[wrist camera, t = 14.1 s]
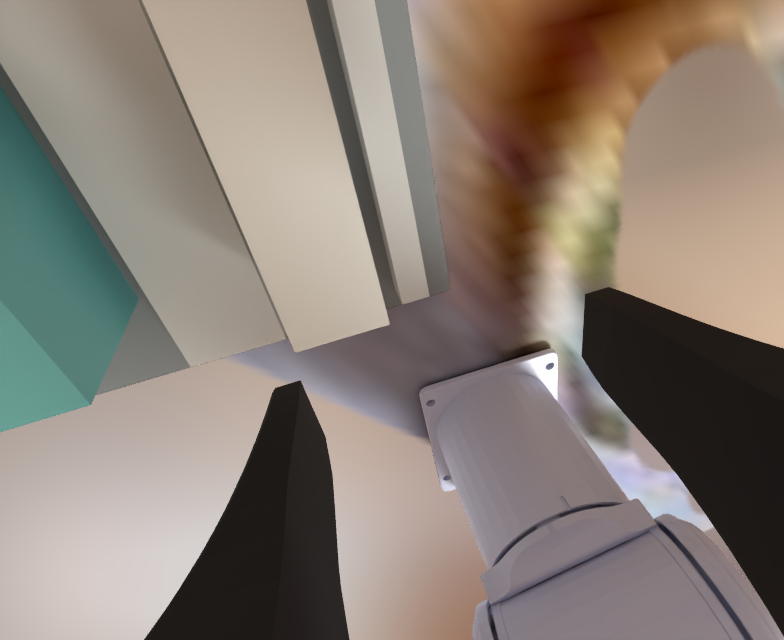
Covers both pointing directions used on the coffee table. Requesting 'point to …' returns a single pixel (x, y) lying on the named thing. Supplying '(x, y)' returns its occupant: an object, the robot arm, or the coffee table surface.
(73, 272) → the teal rectangular block
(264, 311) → the ribbed slotted plate
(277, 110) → the beige rectangular block
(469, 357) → the coffee table surface
